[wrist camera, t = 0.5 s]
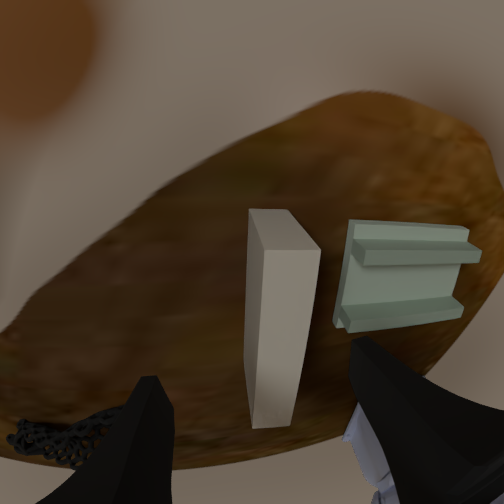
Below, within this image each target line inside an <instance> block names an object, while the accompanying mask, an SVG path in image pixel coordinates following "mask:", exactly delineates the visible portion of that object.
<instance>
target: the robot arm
mask: <svg viewBox="0 0 504 504" xmlns="http://www.w3.org/2000/svg"><path fill="white" fill-rule="evenodd" d="M348 377H349V379H350V382H351V385H352V388H353V391H354V393H355V396H356V398H357V400H358V404H357V406H356V408H355V411H354V413H353V415H352V418H351V420H350V422H349V424H348V426H347V429H346V431H345V433H344V435H343V437H342V441H343V442H347V441H351V444H352V447H353V449H354V452H355V454H356V457H357V459H358V462H359V465H360V467H361V470H362V472H363V475H364V477H365V479H366V480H367V481H368V482H369V483H370V484H371V485H373V486H375V487H377V488H378V489H379V490H378V491H376V492H375V493H374V495H373V499H372V502H371V504H504V410H499V409H495V408H492V407H488V406H485V405H482V404H478V403H476V402H473V401H470V400H468V399H465V398H463V397H460V396H458V395H455V394H453V393H451V392H449V391H447V390H445V389H443V388H441V387H439V386H438V385H436V384H434V383H432V382H430V381H429V380H427V379H426V377H425V376H421V375H419V374H418V373H416V372H415V371H413V370H412V369H410V368H409V367H408V366H406V365H405V364H403V363H402V362H401V361H399V360H398V359H397V358H395V357H394V356H393V355H391V354H390V353H389V352H387V351H386V350H385V349H383V348H382V347H381V346H380V345H378V344H377V343H376V342H374V341H373V340H372V339H371V338H369V337H368V336H364V337H360V338H357V339H353V340H352V344H351V355H350V365H349V374H348ZM174 434H175V427H174V408H173V406H172V404H171V402H170V401H169V399H168V397H167V395H166V393H165V391H164V389H163V387H162V385H161V383H160V381H159V379H158V377H157V375H155V376H143V377H141V378H140V380H139V381H138V383H137V385H136V386H135V388H134V390H133V392H132V393H131V395H130V397H129V398H128V400H127V402H126V404H125V405H124V407H123V409H122V410H121V412H120V414H119V415H118V417H117V418H116V420H115V422H114V423H113V425H112V426H111V428H110V429H109V431H108V432H107V434H106V435H105V436H104V438H103V439H102V441H101V442H100V444H99V445H98V446H97V447H96V449H95V450H94V451H93V453H92V454H91V455H90V456H89V457H88V459H87V460H86V461H85V462H84V463H83V464H82V465H81V466H80V467H79V468H78V469H77V470H76V471H75V472H74V473H73V474H72V476H70V478H68V479H67V480H66V481H65V482H64V483H63V484H61V486H59V487H58V488H57V489H55V490H54V491H53V492H52V493H50V494H49V495H48V496H46V497H45V498H43V499H42V500H40V501H39V502H37V503H36V504H172V495H171V473H172V461H173V448H174Z"/></svg>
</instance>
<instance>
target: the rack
mask: <svg viewBox="0 0 504 504" xmlns="http://www.w3.org/2000/svg"><path fill="white" fill-rule="evenodd" d="M468 234H469V230H468V229H467V228H465V227H463V226H454V225H440V224H425V223H409V222H391V221H371V220H349V226H348V233H347V240H346V246H345V253H344V259H343V265H342V271H341V277H340V283H339V288H338V293H337V299H336V304H335V309H334V314H333V319H332V321H333V323H334V325H335V327H336V328H343V327H345V329H346V330H347V332H348V333H353V332H363V331H372V330H381V329H389V328H397V327H404V326H411V325H418V324H425V323H431V322H437V321H443V320H449V319H455V318H460V317H461V315H462V312H463V309H464V307H463V306H462V305H461V304H460V303H459V302H458V301H457V300H456V299H454V298H453V297H452V296H451V295H452V292H453V289H454V286H455V283H456V279H457V276H458V273H459V269H460V266H461V263H479V260H480V257H481V253H482V250H480V249H478V248H477V247H475V246H473V245H472V244H470V243H468V242H467V238H468Z"/></svg>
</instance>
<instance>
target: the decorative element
mask: <svg viewBox="0 0 504 504" xmlns="http://www.w3.org/2000/svg"><path fill="white" fill-rule="evenodd" d="M123 407H124V405H122V406H119V407H115V408H111V409H107V410H104V411H100V412H97V413H96V414H93V415H91V416H90V417H88V418H86V419H84V420H81V421H78V422H77V423H75V424H73V425H72V426H70V427H69V428H68V429H66V430H65V431H63V432H60V431H58V430H55V429H53V428H51V427H48V426H45V425H40V424H37V423H28V422H27V421H26V420H25V419H21V420H19V422H18V423H17V426H16V427H17V428H18V429H19V430H18V432H17V433H16V435H14V434H9V435H7V437H6V440H7V442H8V443H9V444H10V445H13V446H14V450H15V451H16V452H17V453H19V454H23V455H25V456H28V455H41V454H43V455H44V458H45V459H47V460H50V459H53V458H56V463H58V464H60V465H64V464H67V463H69V464H70V468H71V469H72V470H77V469H78V468H79V467H80V466H81V465H82V464H81V465H80V466H75V464H76V463H77V462H79V461H83V463H84V462H85V461H86V460H87V455H88V453H90V452H93V451H94V450H95V448H94V447H93V446H94V441H95V440H97V439H100V440H102V439H103V438H104V436H103V435H101V434H100V429H101V428H103V427H106V428H109V429H110V428H111V426H112V425H113V424H112V423H114V422H115V420H116V418H117V417H118V415H119V414H120V412H121V410H122V409H123ZM92 429H94V430H95V434H94V435H93V436H91V437H88V436H85V435H87V434H89V433H90V432H91V431H92ZM38 432H40V433H38ZM30 433H32V434H31V435H30V437H29V438H28V435H29V434H30ZM37 433H38V434H37ZM75 435H77V436H79V437H76V436H75ZM60 440H61V441H62V443H60ZM83 440H84V441H87V442H89V443H88V448H85V447H84V446H83V445H82V442H81V441H83ZM32 441H33V442H32ZM75 441H76V442H77V443H76V442H75ZM27 442H32V443H27ZM47 445H50V448H49V449H47V450H46V449H45V448H44V447H45V446H47ZM72 445H73V446H74V448H73V446H72ZM31 446H32V447H31ZM67 446H68V448H69V449H70V450H69V451H68V452H67V451H66V447H67ZM54 447H55V448H54ZM79 449H80V450H81V451H82V452H83V453H82V456H80V454H79ZM59 450H62V452H61V453H60V454H58V451H59ZM51 452H53V454H51V455H49V454H50V453H51ZM73 453H74V454H75V458H74V459H72V460H71V456H72V454H73ZM64 456H66V459H64V460H60V459H61V458H62V457H64Z"/></svg>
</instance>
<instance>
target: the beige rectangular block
mask: <svg viewBox="0 0 504 504" xmlns="http://www.w3.org/2000/svg"><path fill="white" fill-rule="evenodd" d="M320 254H321V249H320V248H319V247H318V246H317V245H316V243H315V242H314V241H313V240H312V238H311V237H310V236H309V235H308V234H307V232H306V231H305V230H304V229H303V228H302V226H301V225H300V224H299V223H298V222H297V221H296V219H295V218H294V217H293V216H292V215H291V213H290V212H289V211H288V210H281V209H249V223H248V249H247V277H246V304H245V333H244V367H245V375H246V383H247V391H248V399H249V407H250V415H251V422H252V429H253V428H268V427H280V426H290V422H291V418H292V414H293V409H294V405H295V400H296V395H297V391H298V386H299V381H300V376H301V371H302V366H303V361H304V355H305V350H306V344H307V339H308V333H309V327H310V322H311V316H312V309H313V303H314V297H315V290H316V283H317V276H318V269H319V262H320Z"/></svg>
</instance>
